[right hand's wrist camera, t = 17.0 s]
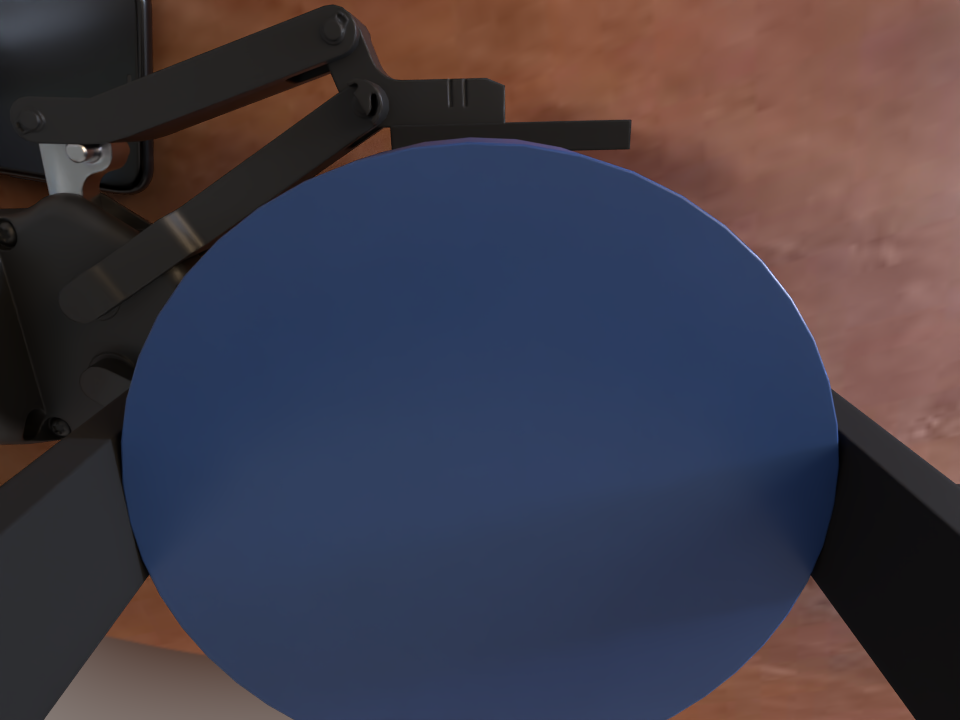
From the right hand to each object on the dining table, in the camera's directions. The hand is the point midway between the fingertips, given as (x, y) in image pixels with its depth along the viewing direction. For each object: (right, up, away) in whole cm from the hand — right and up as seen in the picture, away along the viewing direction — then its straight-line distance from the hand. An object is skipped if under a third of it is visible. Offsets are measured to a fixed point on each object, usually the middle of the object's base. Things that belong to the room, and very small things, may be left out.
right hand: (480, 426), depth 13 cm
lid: (0, -1, -3) cm, 3 cm away
